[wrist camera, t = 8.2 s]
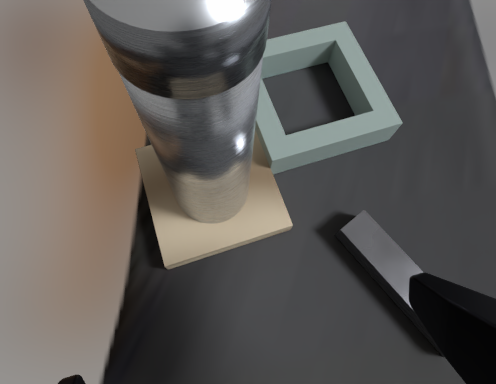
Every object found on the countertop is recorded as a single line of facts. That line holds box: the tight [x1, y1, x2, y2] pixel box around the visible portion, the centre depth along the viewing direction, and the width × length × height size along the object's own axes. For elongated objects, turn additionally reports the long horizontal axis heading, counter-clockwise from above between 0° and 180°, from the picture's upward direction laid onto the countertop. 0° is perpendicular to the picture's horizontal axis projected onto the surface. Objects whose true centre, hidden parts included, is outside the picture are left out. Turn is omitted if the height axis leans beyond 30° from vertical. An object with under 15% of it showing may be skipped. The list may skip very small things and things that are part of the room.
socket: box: [255, 21, 402, 174], centre depth 22 cm, size 8×8×2 cm
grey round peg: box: [84, 0, 271, 224], centre depth 13 cm, size 4×4×13 cm
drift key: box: [335, 210, 445, 357], centre depth 18 cm, size 8×2×1 cm, turn 39°
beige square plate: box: [135, 130, 293, 269], centre depth 20 cm, size 7×7×1 cm
